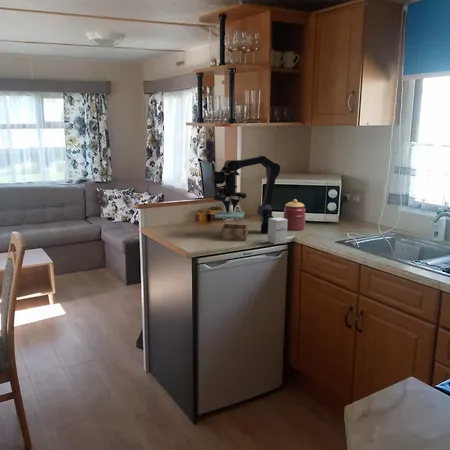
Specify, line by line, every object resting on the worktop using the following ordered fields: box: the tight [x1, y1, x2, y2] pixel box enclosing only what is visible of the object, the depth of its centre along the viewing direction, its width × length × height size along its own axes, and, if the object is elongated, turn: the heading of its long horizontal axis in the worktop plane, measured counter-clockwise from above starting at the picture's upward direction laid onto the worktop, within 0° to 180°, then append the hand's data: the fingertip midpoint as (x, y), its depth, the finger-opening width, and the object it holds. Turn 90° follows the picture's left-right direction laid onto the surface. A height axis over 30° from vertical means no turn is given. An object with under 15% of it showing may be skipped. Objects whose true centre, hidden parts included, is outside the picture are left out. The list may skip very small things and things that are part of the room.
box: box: [220, 223, 249, 242], centre depth 256 cm, size 13×13×6 cm
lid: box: [214, 203, 246, 220], centre depth 260 cm, size 15×15×6 cm
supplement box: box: [267, 217, 288, 245], centre depth 247 cm, size 7×7×13 cm
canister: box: [283, 198, 307, 232], centre depth 280 cm, size 13×13×18 cm
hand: (229, 212), depth 260 cm, fingers closed on lid, 3 cm apart
